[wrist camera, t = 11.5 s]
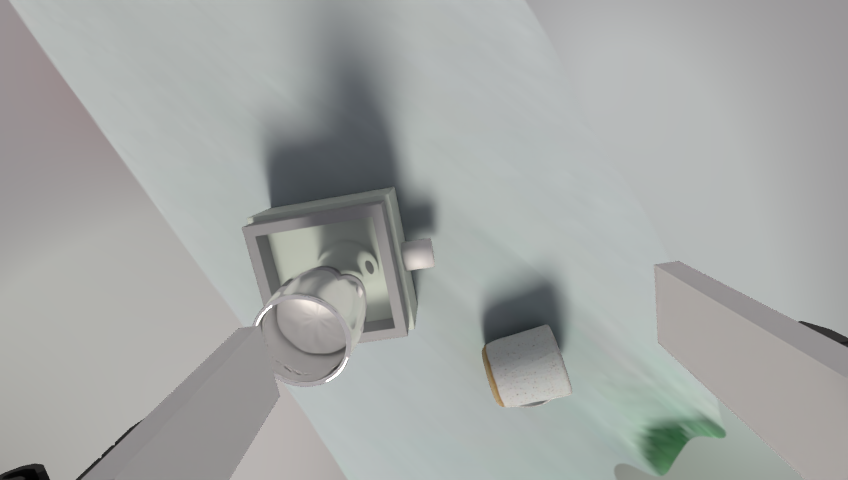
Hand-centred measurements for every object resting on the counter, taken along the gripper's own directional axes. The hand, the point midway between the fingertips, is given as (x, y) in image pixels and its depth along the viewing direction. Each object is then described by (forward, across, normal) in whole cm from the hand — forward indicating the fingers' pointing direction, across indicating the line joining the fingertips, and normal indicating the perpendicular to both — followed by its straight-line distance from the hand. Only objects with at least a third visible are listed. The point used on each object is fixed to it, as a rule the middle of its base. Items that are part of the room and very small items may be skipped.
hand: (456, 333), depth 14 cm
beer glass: (+27, -10, -5) cm, 29 cm away
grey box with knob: (+33, -10, -5) cm, 35 cm away
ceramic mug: (+33, +6, -21) cm, 40 cm away
